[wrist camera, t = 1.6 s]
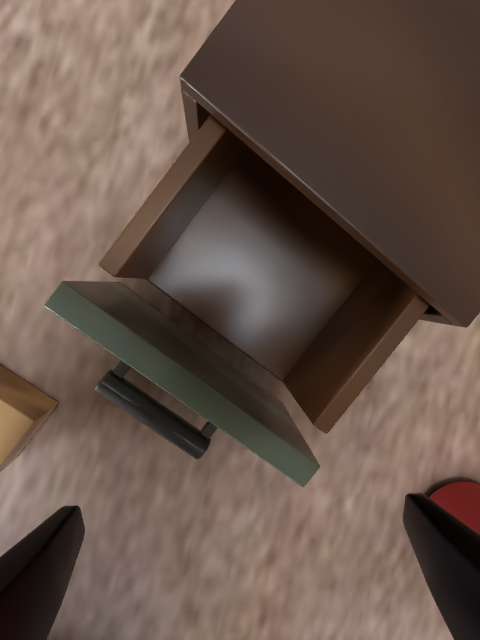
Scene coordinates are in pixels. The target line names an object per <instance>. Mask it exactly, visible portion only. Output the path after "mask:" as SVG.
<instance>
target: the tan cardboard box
mask: <svg viewBox="0 0 480 640" xmlns="http://www.w3.org/2000/svg"><path fill="white" fill-rule="evenodd" d="M57 404H58V402H57V401H55V400H53V399H52V398H50V397H49V396H47V395H46V394H44V393H43V392H41V391H40V390H38V389H37V388H35V387H34V386H32V385H31V384H29V383H28V382H26V381H25V380H23V379H21V378H20V377H18V376H17V375H15V374H14V373H12V372H11V371H9V370H8V369H6V368H5V367H3V366H2V365H0V472H1V471H2V470H3V469H4V468H5V467H7V466H8V465H9V464H10V463H11V462H12V461H13V460H14V459H16V458H17V457H18V456H19V454H20V453H21V452H22V451H23V449H24V448H25V447H26V445H27V444H28V443H29V441H30V440H31V439H32V437H33V436H34V435H35V433H36V432H37V431H38V429H39V428H40V427H41V425H42V424H43V423H44V422H45V420H46V419H47V418H48V416H49V415H50V414H51V412H52V411H53V410H54V408H55V407H56V406H57Z"/></svg>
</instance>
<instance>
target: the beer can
mask: <svg viewBox="0 0 480 640" xmlns="http://www.w3.org/2000/svg"><path fill="white" fill-rule="evenodd" d="M428 498H430V499H431V500H433V501H434V502H435V503H437V504H438V505H440V506H441V507H442V508H444V509H445V510H446V511H448V512H449V513H451V514H452V515H453V516H455V517H456V518H457V519H459V520H460V521H462V522H463V523H464V524H466V525H467V526H468V527H470V528H471V529H473V530H474V531H475V532H477V533H478V534H479V535H480V484H478V483H472V482H463V481H462V482H456V483H451V484H447V485H445V486H443V487H441V488H439V489H437V490H436V491H435V492H434V493H433V494H432V495H431V496H429V497H428Z"/></svg>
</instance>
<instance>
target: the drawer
mask: <svg viewBox="0 0 480 640" xmlns="http://www.w3.org/2000/svg"><path fill="white" fill-rule="evenodd" d="M99 266H100V267H101V268H103V269H104V270H105V271H107V272H108V273H110V274H111V275H112V276H114V277H123V278H137V279H147V280H148V281H149V282H151V283H152V284H153V285H155V286H156V287H157V288H159V289H160V290H161V291H163V292H164V293H165V294H167V295H168V296H169V297H171V298H172V299H173V300H175V301H176V302H177V303H179V304H180V305H181V306H183V307H184V308H185V309H187V310H188V311H189V312H191V313H192V314H193V315H195V316H196V317H197V318H199V319H200V320H201V321H202V322H204V323H205V324H206V325H208V326H209V327H210V328H212V329H213V330H214V331H216V332H217V333H218V334H220V335H221V336H222V337H224V338H225V339H226V340H228V341H229V342H230V343H232V344H233V345H234V346H236V347H237V348H238V349H240V350H241V351H242V352H244V353H245V354H246V355H248V356H249V357H250V358H252V359H253V360H254V361H256V362H257V363H258V364H260V365H261V366H262V367H264V368H265V369H266V370H268V371H269V372H270V373H272V374H273V375H274V376H276V377H277V378H278V379H280V380H281V381H282V382H283V383H284V384H285V386H286V387H287V389H288V390H289V391H290V393H291V394H292V396H293V397H294V398H295V400H296V401H297V402H298V404H299V405H300V407H301V408H302V409H303V411H304V412H305V413H306V415H307V416H308V418H309V419H310V420H311V422H312V423H313V425H315V426H316V427H317V428H319V429H320V430H321V431H323V432H324V433H326V434H327V433H328V432H329V431H330V430H331V428H332V427H333V426H334V425H335V423H336V422H337V421H338V420H339V418H340V417H341V416H342V415H343V413H344V412H345V411H346V410H347V408H348V407H349V406H350V405H351V403H352V402H353V401H354V400H355V398H356V397H357V396H358V395H359V393H360V392H361V391H362V390H363V388H364V387H365V386H366V385H367V383H368V382H369V381H370V380H371V378H372V377H373V376H374V375H375V373H376V372H377V371H378V370H379V368H380V367H381V366H382V365H383V363H384V362H385V361H386V360H387V358H388V357H389V356H390V355H391V353H392V352H393V351H394V350H395V348H396V347H397V346H398V345H399V343H400V342H401V341H402V340H403V338H404V337H405V336H406V335H407V333H408V332H409V331H410V330H411V328H412V327H413V326H414V325H415V323H416V322H417V321H418V320H419V318H420V317H421V316H422V315H423V313H424V312H425V311H426V310H427V308H428V307H429V306H430V304H429V303H428V302H427V301H426V300H425V299H424V298H422V297H421V296H420V295H419V294H418V293H417V292H415V291H414V290H413V289H412V288H411V287H410V286H409V285H407V284H406V283H405V282H404V281H403V280H402V279H400V278H399V277H398V276H397V275H396V274H395V273H394V272H392V271H391V270H390V269H389V268H388V267H387V266H386V265H384V264H383V263H382V262H381V261H380V260H379V259H377V258H376V257H375V256H374V255H373V254H372V253H371V252H369V251H368V250H367V249H366V248H365V247H364V246H362V245H361V244H360V243H359V242H358V241H357V240H356V239H354V238H353V237H352V236H351V235H350V234H349V233H348V232H346V231H345V230H344V229H343V228H342V227H341V226H339V225H338V224H337V223H336V222H335V221H334V220H333V219H331V218H330V217H329V216H328V215H327V214H326V213H325V212H323V211H322V210H321V209H320V208H319V207H318V206H316V205H315V204H314V203H313V202H312V201H311V200H310V199H308V198H307V197H306V196H305V195H304V194H303V193H301V192H300V191H299V190H298V189H297V188H296V187H295V186H293V185H292V184H291V183H290V182H289V181H288V180H287V179H285V178H284V177H283V176H282V175H281V174H280V173H278V172H277V171H276V170H275V169H274V168H273V167H272V166H270V165H269V164H268V163H267V162H266V161H265V160H264V159H262V158H261V157H260V156H259V155H258V154H257V153H255V152H254V151H253V150H252V149H251V148H250V147H249V146H247V145H246V144H245V143H244V142H243V141H242V140H240V139H239V138H238V137H237V136H236V135H235V134H234V133H232V132H231V131H230V130H229V129H228V128H227V127H226V126H224V125H223V124H222V123H221V122H220V121H219V120H217V119H216V118H215V117H214V116H213V115H212V114H211V115H210V116H209V117H208V119H207V120H206V121H205V123H204V124H203V125H202V127H201V128H200V129H199V131H198V132H197V133H196V135H195V136H194V137H193V139H192V140H191V141H190V143H189V144H188V145H187V147H186V148H185V149H184V151H183V152H182V153H181V155H180V156H179V157H178V159H177V160H176V161H175V163H174V164H173V165H172V167H171V168H170V169H169V171H168V172H167V173H166V175H165V176H164V177H163V179H162V180H161V181H160V183H159V184H158V185H157V187H156V188H155V189H154V191H153V192H152V193H151V195H150V196H149V197H148V199H147V200H146V201H145V203H144V204H143V205H142V207H141V208H140V209H139V211H138V212H137V213H136V215H135V216H134V217H133V219H132V220H131V221H130V223H129V224H128V225H127V227H126V228H125V229H124V231H123V232H122V233H121V235H120V236H119V237H118V239H117V240H116V241H115V243H114V244H113V245H112V247H111V248H110V249H109V250H108V252H107V253H106V254H105V256H104V257H103V258H102V260H101V261H100V262H99ZM44 306H45V307H46V308H48V309H49V310H50V311H52V312H53V313H55V314H56V315H58V316H59V317H60V318H62V319H63V320H65V321H66V322H68V323H69V324H70V325H72V326H73V327H75V328H76V329H78V330H79V331H80V332H82V333H83V334H85V335H86V336H88V337H89V338H90V339H92V340H93V341H95V342H96V343H98V344H99V345H100V346H102V347H103V348H105V349H106V350H108V351H109V352H110V353H112V354H113V355H115V356H116V357H118V358H119V359H120V360H121V361H120V363H119V364H118V365H117V367H116V368H115V369H114V371H113V370H110V371H108V372H107V373H106V375H105V376H104V377H103V378H102V379H101V380H100V382H99V383H98V384H97V386H96V387H95V391H96V392H97V393H99V394H100V395H102V396H103V397H105V398H106V399H108V400H109V401H111V402H112V403H114V404H115V405H117V406H118V407H119V408H121V409H122V410H124V411H125V412H127V413H128V414H130V415H131V416H133V417H134V418H136V419H137V420H139V421H140V422H142V423H143V424H145V425H146V426H148V427H149V428H151V429H152V430H154V431H155V432H157V433H158V434H159V435H161V436H162V437H164V438H165V439H167V440H168V441H170V442H171V443H173V444H174V445H176V446H177V447H179V448H180V449H182V450H183V451H185V452H186V453H188V454H189V455H191V456H192V457H194V458H195V459H200V458H201V457H202V456H203V455H204V453H205V452H206V450H207V449H208V447H209V444H210V441H211V438H210V437H211V436H212V434H213V433H214V432H215V431H216V429H217V428H219V429H220V430H222V431H223V432H225V433H226V434H228V435H229V436H230V437H232V438H233V439H235V440H236V441H238V442H239V443H240V444H242V445H243V446H245V447H246V448H248V449H249V450H250V451H252V452H253V453H255V454H256V455H258V456H259V457H260V458H262V459H263V460H265V461H266V462H268V463H269V464H270V465H272V466H273V467H275V468H276V469H278V470H279V471H280V472H282V473H283V474H285V475H286V476H288V477H289V478H290V479H292V480H293V481H295V482H296V483H298V484H299V485H300V486H302V487H304V486H305V485H306V484H307V483H308V481H309V480H310V479H311V478H312V476H313V475H314V474H315V473H316V471H317V470H318V469H319V468H320V465H319V463H318V462H317V460H316V458H315V457H314V455H313V453H312V451H311V450H310V448H309V446H308V445H307V443H306V441H305V440H304V438H303V436H302V435H301V433H300V431H299V430H298V428H297V426H296V425H295V423H294V421H293V420H292V418H291V416H290V415H289V413H288V411H287V409H286V408H285V406H284V404H283V403H282V402H281V401H279V400H278V399H276V398H275V397H274V396H272V395H271V394H270V393H268V392H267V391H266V390H264V389H263V388H262V387H260V386H259V385H258V384H256V383H255V382H254V381H252V380H251V379H249V378H248V377H247V376H245V375H244V374H243V373H241V372H240V371H239V370H237V369H236V368H235V367H233V366H232V365H231V364H229V363H228V362H226V361H225V360H224V359H222V358H221V357H220V356H218V355H217V354H216V353H214V352H213V351H212V350H210V349H209V348H208V347H206V346H205V345H203V344H202V343H201V342H199V341H198V340H197V339H195V338H194V337H193V336H191V335H190V334H189V333H187V332H186V331H185V330H183V329H182V328H181V327H179V326H178V325H176V324H175V323H174V322H172V321H171V320H170V319H168V318H167V317H166V316H164V315H163V314H162V313H160V312H159V311H158V310H156V309H155V308H153V307H152V306H151V305H149V304H148V303H147V302H145V301H144V300H143V299H141V298H140V297H139V296H137V295H136V294H135V293H133V292H132V291H130V290H129V289H128V288H126V287H125V286H124V285H122V284H121V283H120V282H89V281H62V282H61V283H60V285H59V286H58V287H57V289H56V290H55V291H54V293H53V294H52V295H51V297H50V298H49V300H48V301H47V302H46V304H45V305H44ZM130 367H132V368H133V369H135V370H136V371H138V372H139V373H140V374H142V375H143V376H145V377H146V378H148V379H149V380H150V381H152V382H153V383H155V384H156V385H158V386H159V387H160V388H162V389H163V390H165V391H166V392H168V393H169V394H170V395H172V396H173V397H175V398H176V399H178V400H179V401H180V402H182V403H183V404H185V405H186V406H188V407H189V408H190V409H192V410H193V411H195V412H196V413H198V414H199V415H200V416H202V417H203V418H205V419H206V420H208V421H207V422H206V424H205V425H204V426H203V427H202V429H201V431H200V430H199V429H197V428H196V427H194V426H193V425H191V424H190V423H188V422H187V421H186V420H184V419H183V418H181V417H180V416H178V415H177V414H175V413H174V412H173V411H171V410H170V409H168V408H167V407H165V406H164V405H162V404H161V403H160V402H158V401H157V400H155V399H154V398H152V397H151V396H149V395H148V394H147V393H145V392H144V391H142V390H141V389H139V388H138V387H136V386H135V385H134V384H132V383H131V382H129V381H128V380H126V379H125V378H123V376H124V375H125V374H126V373H127V371H128V370H129V369H130Z"/></svg>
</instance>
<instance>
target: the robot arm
mask: <svg viewBox="0 0 480 640" xmlns="http://www.w3.org/2000/svg"><path fill="white" fill-rule="evenodd" d="M403 522H404V526H405V529H406V531H407V534H408V536H409V539H410V542H411V544H412V547H413V549H414V552H415V554H416V557H417V559H418V562H419V564H420V567H421V569H422V572H423V575H424V577H425V580H426V582H427V584H428V587H429V589H430V592H431V594H432V596H433V598H434V600H435V602H436V604H437V606H438V608H439V610H440V612H441V614H442V616H443V618H444V620H445V622H446V624H447V626H448V628H449V630H450V632H451V634H452V636H453V638H454V640H480V535H479V534H478V533H477V532H475V531H474V530H473V529H471V528H470V527H468V526H467V525H466V524H464V523H463V522H462V521H460V520H459V519H457V518H456V517H455V516H453V515H452V514H451V513H449V512H448V511H446V510H445V509H444V508H442V507H441V506H440V505H438V504H437V503H435V502H434V501H433V500H431V499H430V498H428V497H427V496H426V495H424V494H422V493H409V494H407V495H406V497H405V504H404V512H403ZM84 534H85V527H84V522H83V518H82V513H81V509H80V507H79V506H64V507H62V508H60V509H59V510H58V511H57V512H55V513H54V514H53V515H52V516H50V517H49V518H48V519H47V520H45V521H44V522H43V523H42V524H40V525H39V526H38V527H37V528H36V529H34V530H33V531H32V532H31V533H29V534H28V535H27V536H26V537H24V538H23V539H22V540H21V541H19V542H18V543H17V544H16V545H15V546H13V547H12V548H11V549H10V550H8V551H7V552H6V553H5V554H3V555H2V556H1V557H0V640H46V639H47V637H48V635H49V632H50V630H51V628H52V625H53V623H54V621H55V618H56V616H57V614H58V611H59V609H60V606H61V604H62V601H63V598H64V595H65V593H66V590H67V587H68V584H69V581H70V578H71V575H72V572H73V569H74V566H75V563H76V560H77V557H78V554H79V551H80V548H81V545H82V542H83V539H84Z"/></svg>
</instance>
